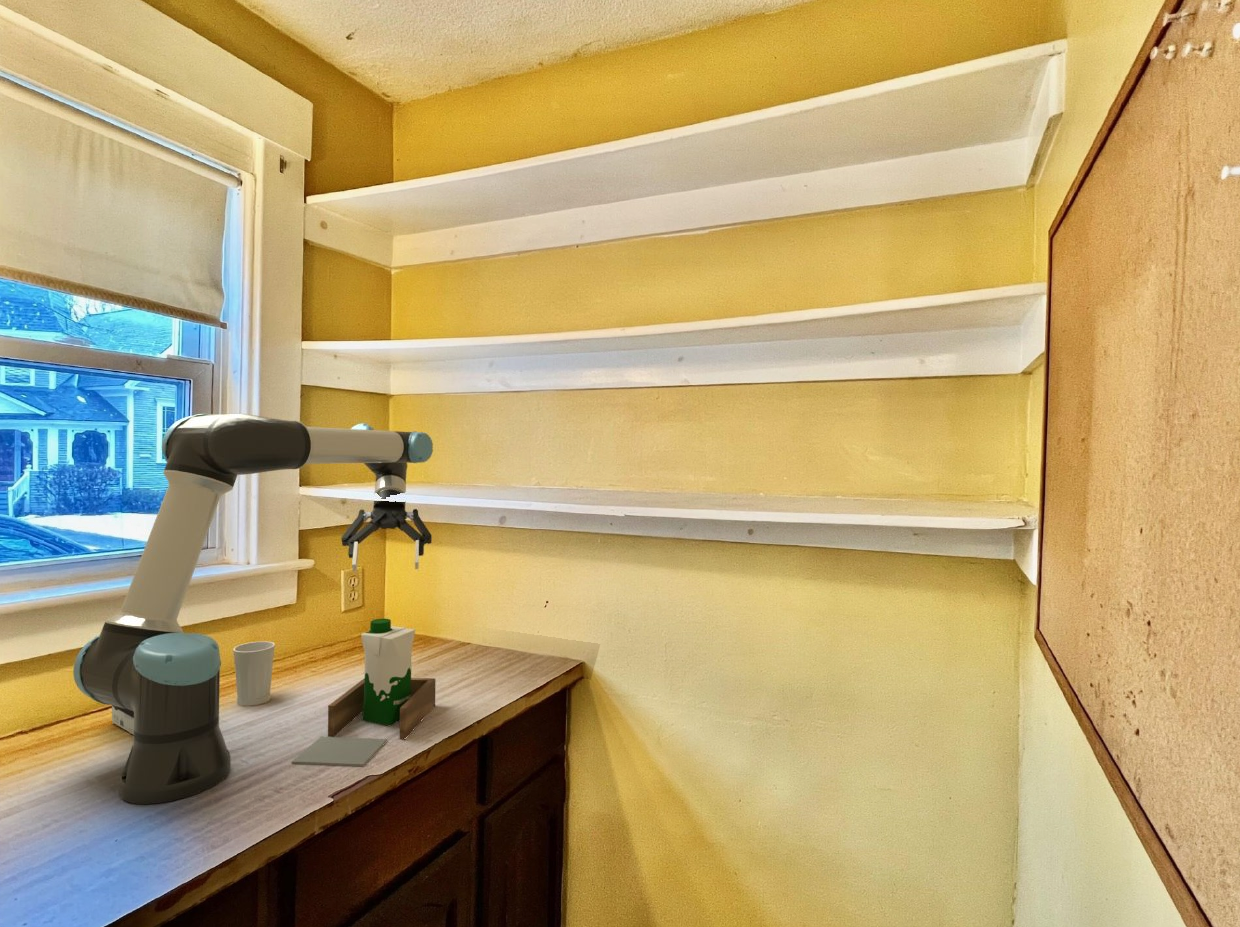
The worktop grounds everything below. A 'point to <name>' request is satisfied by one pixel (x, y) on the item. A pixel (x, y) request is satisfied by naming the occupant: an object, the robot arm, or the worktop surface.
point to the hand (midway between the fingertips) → (385, 567)
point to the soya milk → (386, 671)
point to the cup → (253, 672)
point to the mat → (340, 751)
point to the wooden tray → (410, 712)
